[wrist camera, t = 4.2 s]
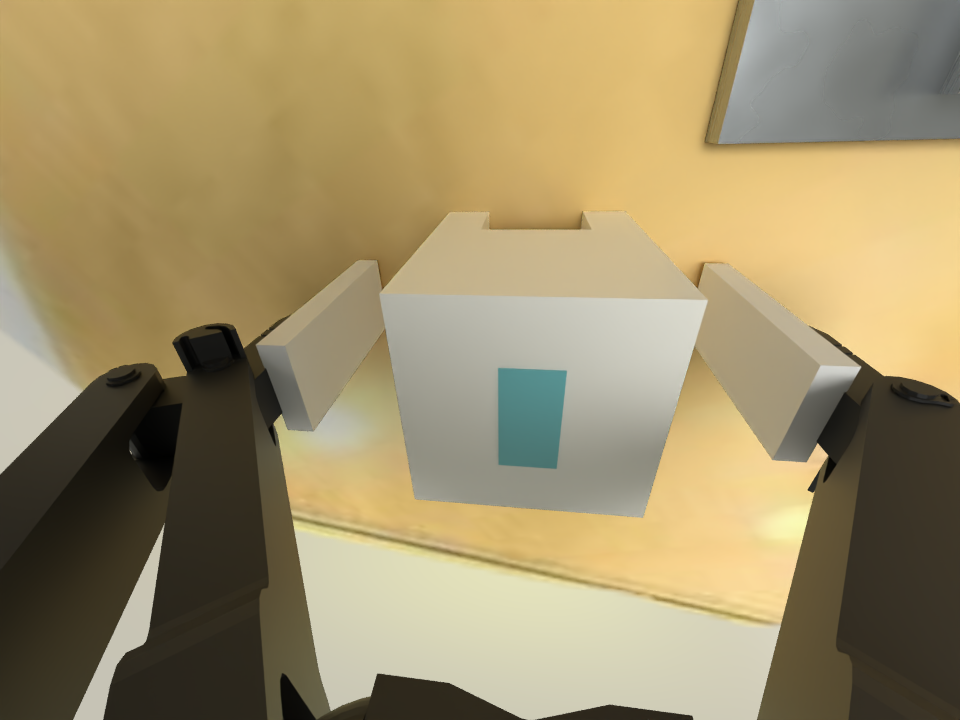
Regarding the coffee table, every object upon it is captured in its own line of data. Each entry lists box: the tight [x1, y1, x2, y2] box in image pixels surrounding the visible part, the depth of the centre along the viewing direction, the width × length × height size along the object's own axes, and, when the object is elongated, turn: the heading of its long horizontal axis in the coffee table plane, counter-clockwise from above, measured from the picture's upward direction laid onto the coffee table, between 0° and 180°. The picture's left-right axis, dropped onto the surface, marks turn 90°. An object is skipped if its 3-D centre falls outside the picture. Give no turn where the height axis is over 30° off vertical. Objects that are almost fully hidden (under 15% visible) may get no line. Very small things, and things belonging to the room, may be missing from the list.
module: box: [379, 211, 708, 518], centre depth 12 cm, size 6×6×8 cm
